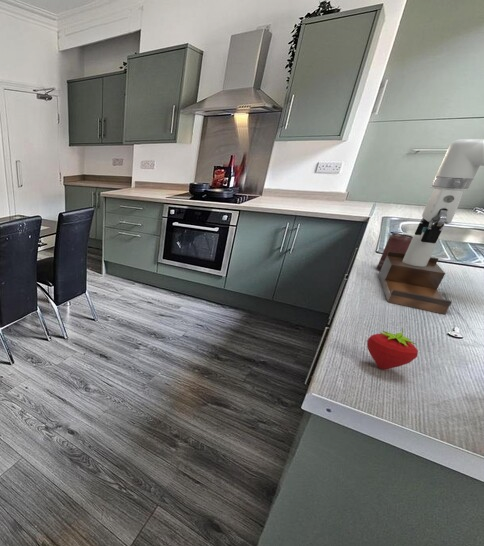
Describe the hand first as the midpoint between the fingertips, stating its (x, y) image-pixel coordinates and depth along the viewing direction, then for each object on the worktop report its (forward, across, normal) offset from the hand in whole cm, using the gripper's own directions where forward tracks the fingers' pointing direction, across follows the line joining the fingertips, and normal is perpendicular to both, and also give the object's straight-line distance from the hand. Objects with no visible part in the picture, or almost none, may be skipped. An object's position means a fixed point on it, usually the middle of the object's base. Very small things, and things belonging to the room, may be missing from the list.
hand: (424, 238), depth 99 cm
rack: (+16, -7, 0) cm, 18 cm away
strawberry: (+17, -62, +11) cm, 65 cm away
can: (+17, +14, +3) cm, 22 cm away
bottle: (+8, 0, 0) cm, 8 cm away
